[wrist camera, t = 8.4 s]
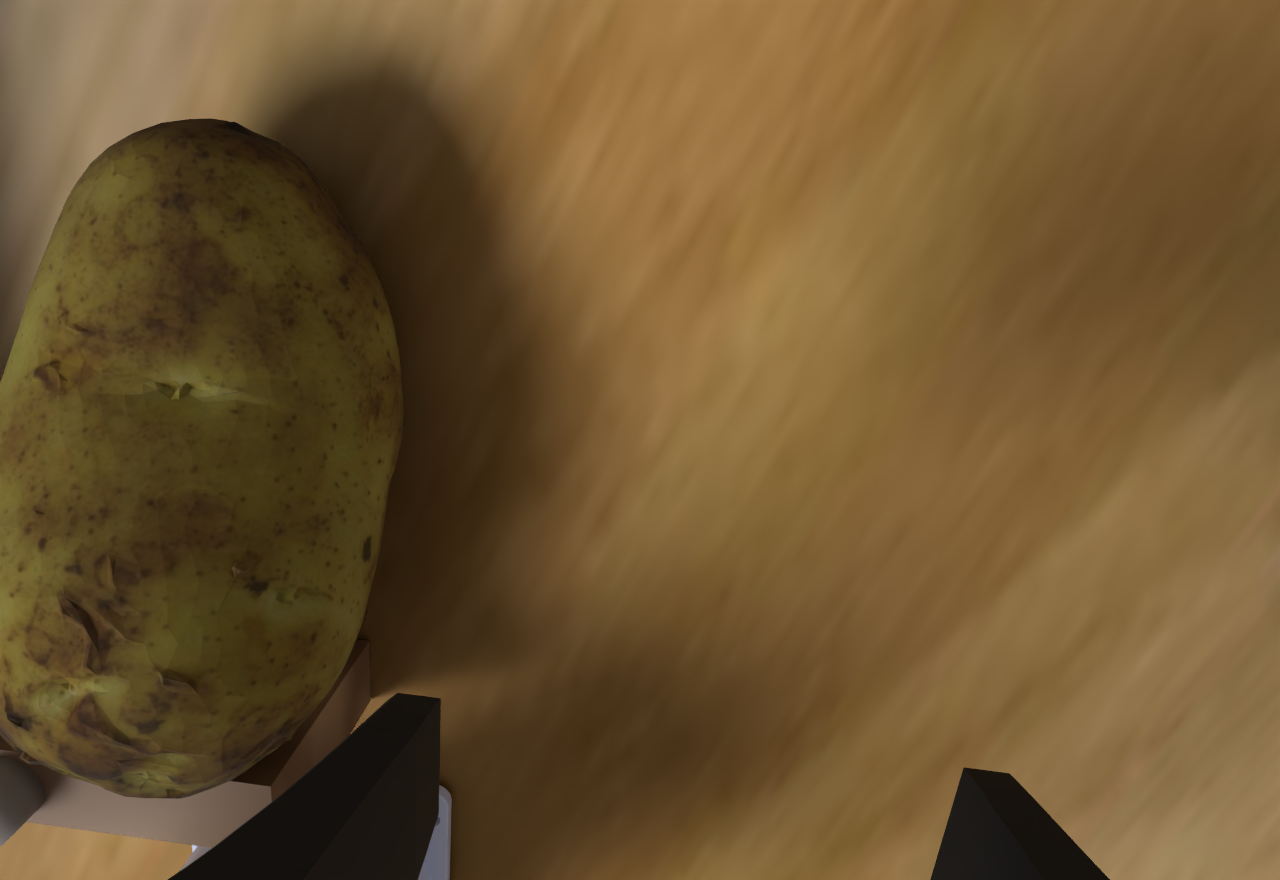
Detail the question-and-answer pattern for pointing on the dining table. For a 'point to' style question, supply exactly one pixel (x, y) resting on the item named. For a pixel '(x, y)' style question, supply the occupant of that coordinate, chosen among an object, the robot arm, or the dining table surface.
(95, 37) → the dining table surface
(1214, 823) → the dining table surface
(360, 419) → the potato
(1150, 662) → the dining table surface
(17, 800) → the cradle
